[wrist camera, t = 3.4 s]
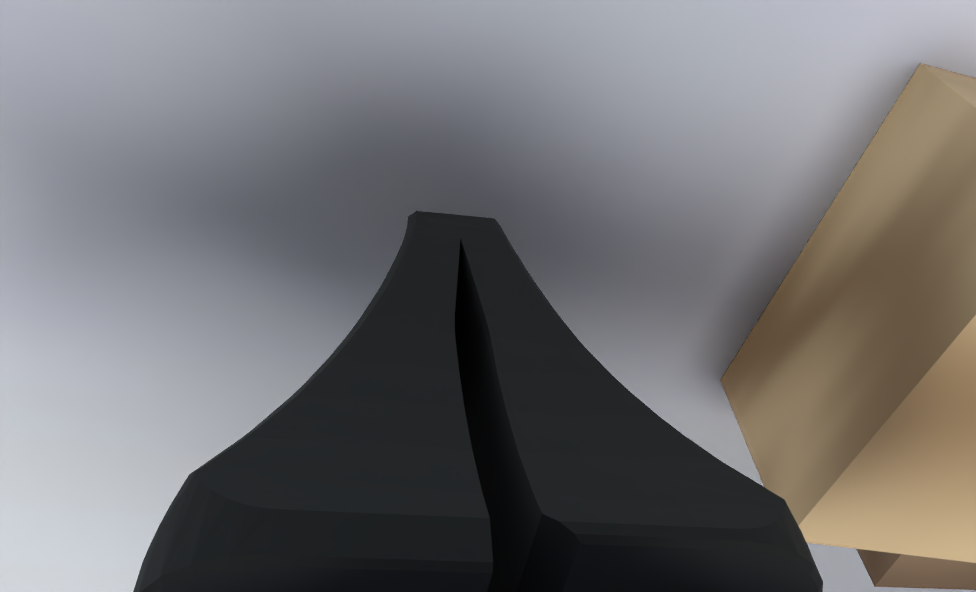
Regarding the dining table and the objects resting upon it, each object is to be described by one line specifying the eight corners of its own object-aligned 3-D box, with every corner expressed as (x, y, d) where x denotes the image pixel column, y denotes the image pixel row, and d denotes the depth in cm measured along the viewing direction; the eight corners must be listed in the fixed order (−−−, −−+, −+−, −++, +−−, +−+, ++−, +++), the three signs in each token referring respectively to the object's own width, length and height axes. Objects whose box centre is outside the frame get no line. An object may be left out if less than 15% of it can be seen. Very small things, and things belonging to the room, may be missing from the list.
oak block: (920, 407, 18) (1027, 568, 14) (717, 374, 16) (786, 540, 13) (1164, 127, 13) (1387, 267, 10) (913, 58, 12) (1079, 191, 9)
